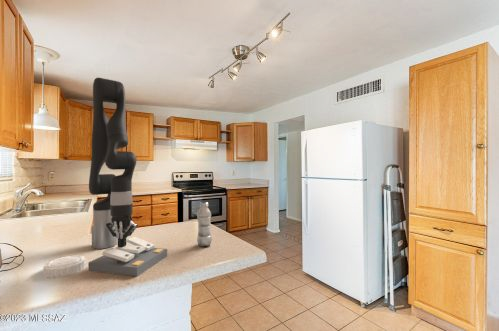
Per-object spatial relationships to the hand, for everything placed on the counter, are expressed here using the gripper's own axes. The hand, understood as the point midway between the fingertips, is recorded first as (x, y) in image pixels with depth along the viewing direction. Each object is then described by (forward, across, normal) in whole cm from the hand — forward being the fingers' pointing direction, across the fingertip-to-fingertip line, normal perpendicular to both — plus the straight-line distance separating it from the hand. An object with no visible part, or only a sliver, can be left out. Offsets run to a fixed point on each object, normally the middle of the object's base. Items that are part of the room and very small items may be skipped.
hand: (122, 247), depth 92 cm
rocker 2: (0, +4, +6) cm, 7 cm away
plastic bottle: (+6, +24, +24) cm, 34 cm away
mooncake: (+6, -15, -10) cm, 19 cm away
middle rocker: (0, +4, 0) cm, 4 cm away
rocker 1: (0, +4, -6) cm, 7 cm away
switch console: (+6, +4, 0) cm, 7 cm away
